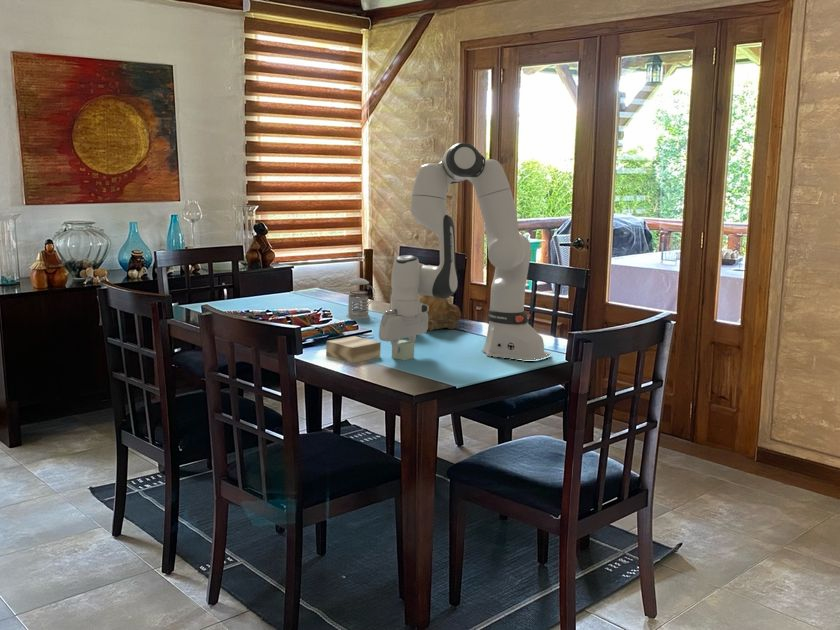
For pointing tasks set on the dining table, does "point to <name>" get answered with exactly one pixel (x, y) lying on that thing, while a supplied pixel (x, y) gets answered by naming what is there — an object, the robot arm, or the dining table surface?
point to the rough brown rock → (440, 312)
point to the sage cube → (404, 350)
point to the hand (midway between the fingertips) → (403, 351)
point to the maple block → (353, 349)
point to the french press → (359, 299)
